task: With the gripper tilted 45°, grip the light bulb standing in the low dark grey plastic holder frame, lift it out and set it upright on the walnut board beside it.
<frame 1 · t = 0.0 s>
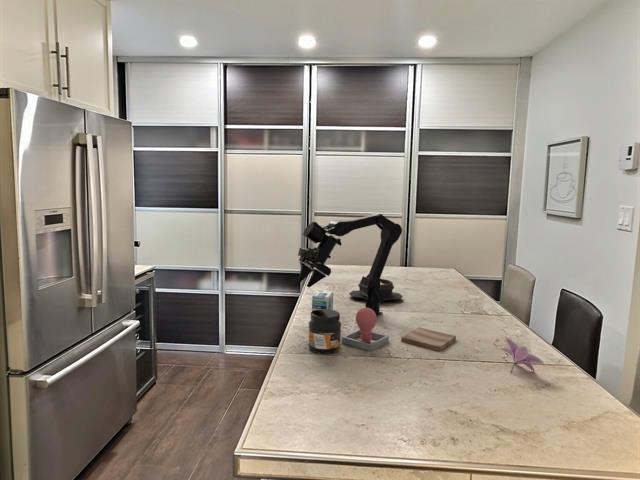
hand: (303, 284, 169), 15 cm above the table, tool tilted 35°, fingers open, 9 cm apart
holder frame: (365, 342, 151), on the table
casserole: (375, 299, 209), on the table
light bulb box: (322, 320, 175), on the table
light bulb: (365, 342, 151), resting in holder frame
supplement container: (324, 349, 145), on the table
walnut board: (428, 340, 154), on the table
lily: (518, 371, 131), on the table
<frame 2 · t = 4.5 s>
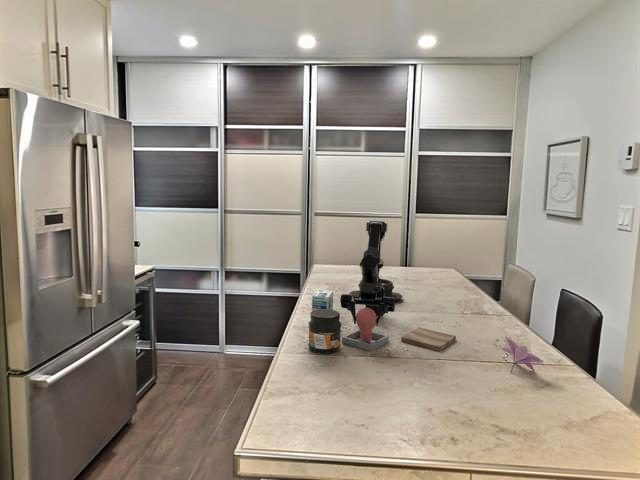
hand: (365, 324, 149), 7 cm above the table, tool tilted 45°, fingers closed on light bulb, 7 cm apart
light bulb: (365, 342, 151), resting in holder frame, touching gripper
everything else where it was.
when the fingers open (9 cm above the table, at t = 9.1 s): light bulb drops 1 cm, resting on walnut board.
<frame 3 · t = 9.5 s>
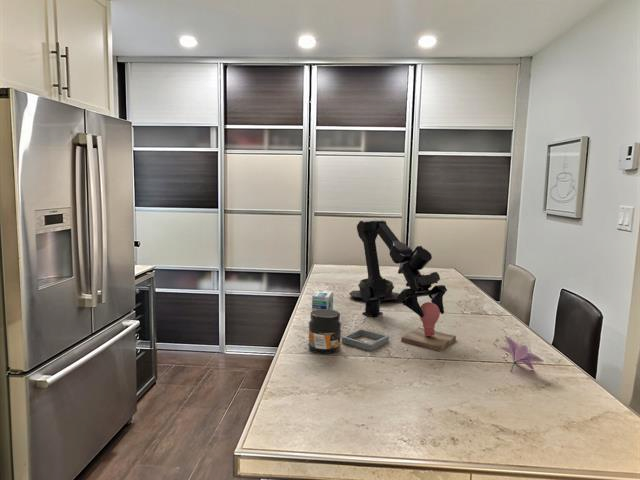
hand: (433, 315, 152), 10 cm above the table, tool tilted 45°, fingers open, 9 cm apart
light bulb: (428, 336, 154), point 1 cm above the table, touching walnut board
everything else where it was.
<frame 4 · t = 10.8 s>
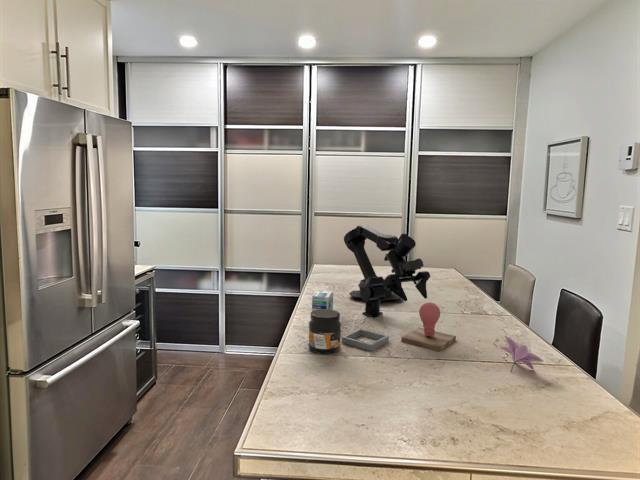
hand: (416, 299, 159), 13 cm above the table, tool tilted 45°, fingers open, 9 cm apart
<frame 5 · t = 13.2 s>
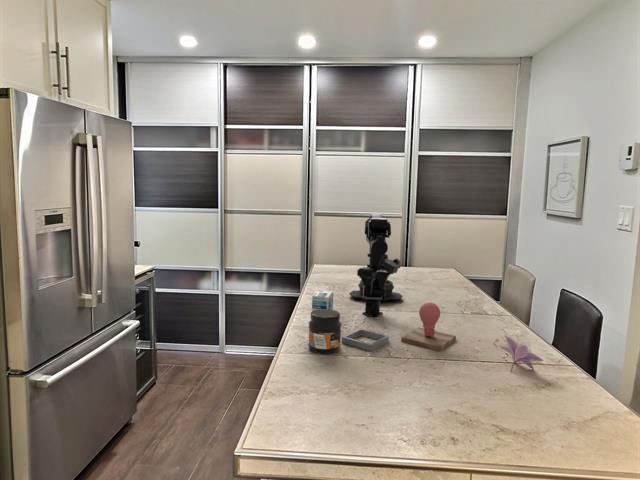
hand: (375, 292, 168), 13 cm above the table, tool pointing down, fingers open, 9 cm apart
at the end: light bulb inside the target area on the walnut board (0.2 cm from its centre), point 1.3 cm above the walnut board's base; light bulb tilted 0°; light bulb touching walnut board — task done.
